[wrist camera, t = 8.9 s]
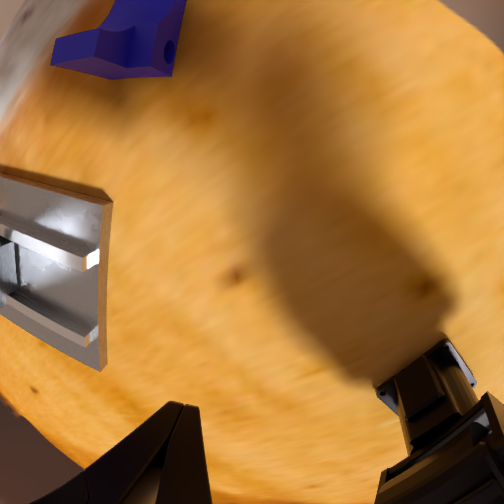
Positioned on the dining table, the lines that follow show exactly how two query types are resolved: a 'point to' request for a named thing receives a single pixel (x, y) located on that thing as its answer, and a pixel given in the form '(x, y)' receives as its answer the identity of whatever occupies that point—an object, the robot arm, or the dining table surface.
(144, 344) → the dining table surface
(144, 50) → the blue saddle bracket
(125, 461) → the robot arm
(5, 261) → the metal angle bracket
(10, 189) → the rail base
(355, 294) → the dining table surface
